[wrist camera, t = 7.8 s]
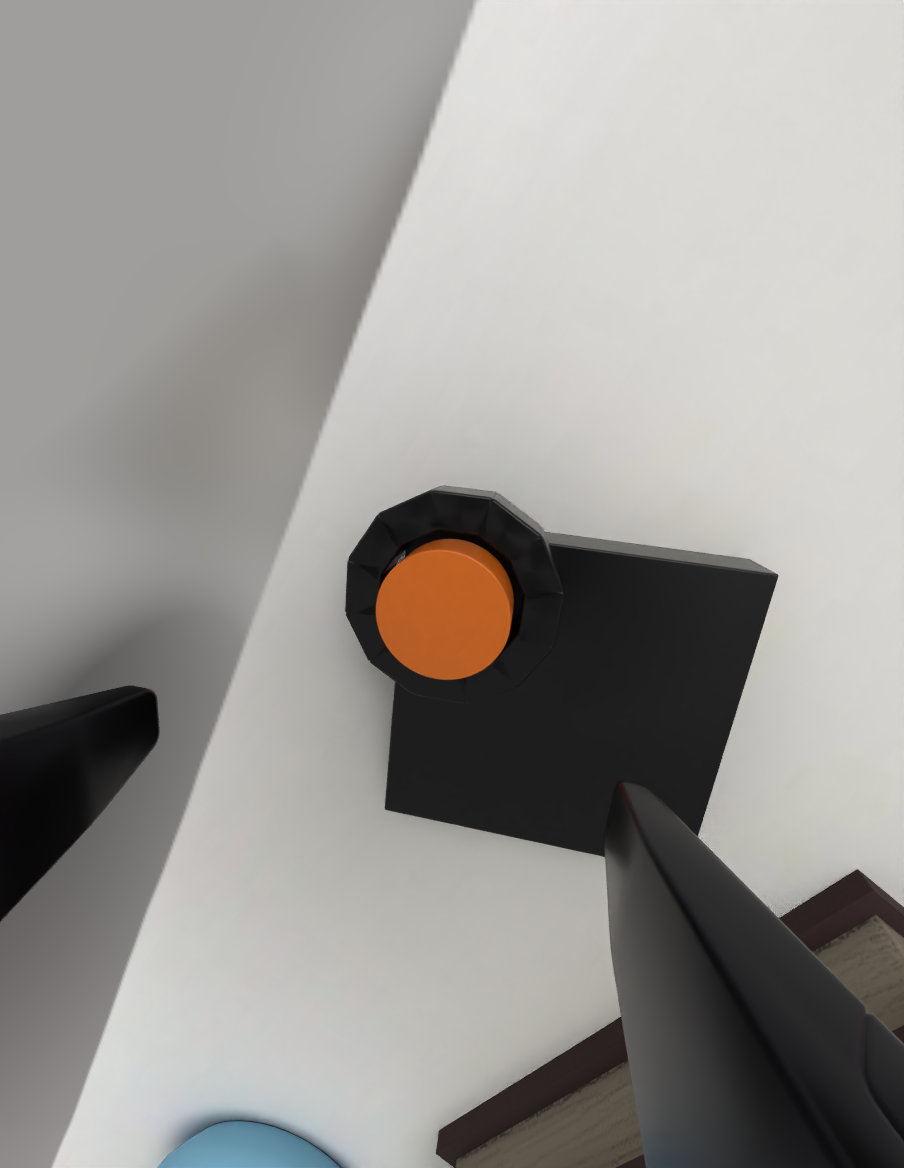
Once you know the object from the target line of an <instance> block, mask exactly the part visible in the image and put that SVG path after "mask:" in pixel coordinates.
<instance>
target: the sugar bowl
mask: <svg viewBox="0 0 904 1168" xmlns="http://www.w3.org/2000/svg"><path fill="white" fill-rule="evenodd" d="M157 1168H340V1167H339V1166H338V1165H337V1164H336V1163H335V1162H334V1161H333V1160H332V1159H331V1158H329V1157H328V1156H327V1155H326V1154H324V1153H323V1152H322V1151H321V1150H319V1149H318V1148H316V1147H315V1146H313V1145H311V1144H310V1143H308V1142H306V1141H305V1140H303V1139H301V1138H299V1137H297V1136H295V1135H293V1134H291V1133H289V1132H286V1131H284V1130H281V1129H278V1128H275V1127H272V1126H268V1125H265V1124H260V1123H254V1122H246V1121H230V1122H222V1123H219V1124H215V1125H212V1126H210V1127H208V1128H206V1129H205V1130H203V1131H202V1132H200V1133H198V1134H197V1135H195V1136H193V1137H192V1138H190V1139H189V1140H188V1141H186V1142H185V1143H183V1144H182V1145H181V1146H179V1147H178V1148H177V1149H175V1150H174V1151H173V1152H171V1153H170V1154H169V1155H168V1156H167V1157H166V1158H165V1159H164V1160H163V1162H162V1163H161V1164H160V1165H159V1166H158V1167H157Z"/></svg>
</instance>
